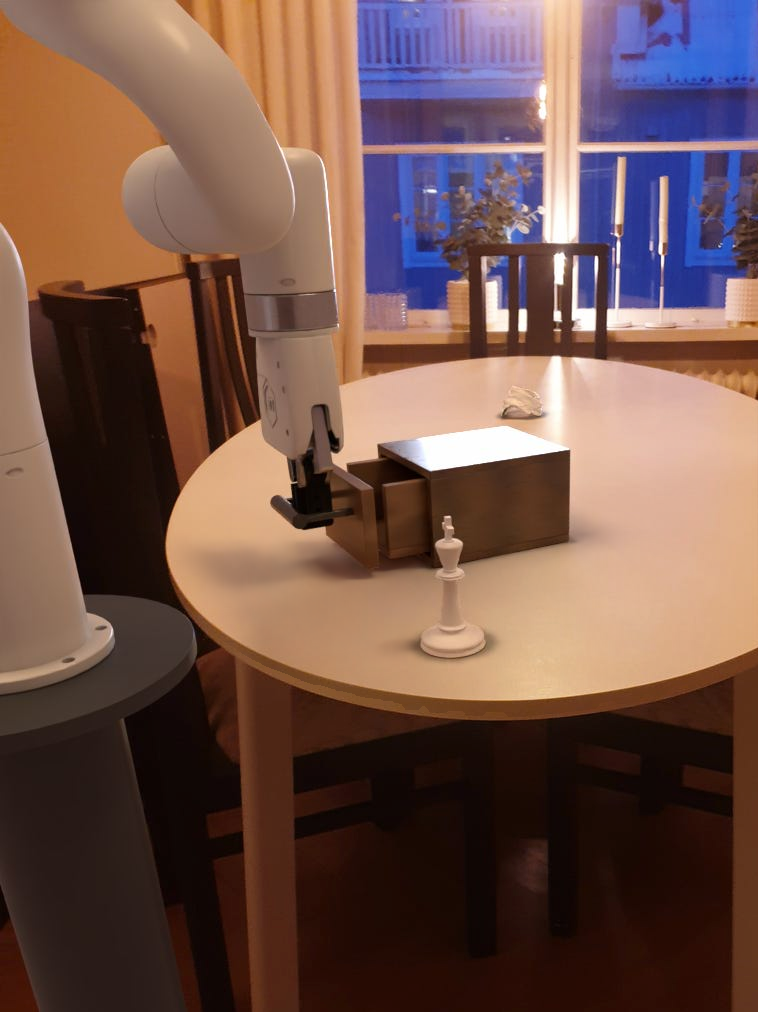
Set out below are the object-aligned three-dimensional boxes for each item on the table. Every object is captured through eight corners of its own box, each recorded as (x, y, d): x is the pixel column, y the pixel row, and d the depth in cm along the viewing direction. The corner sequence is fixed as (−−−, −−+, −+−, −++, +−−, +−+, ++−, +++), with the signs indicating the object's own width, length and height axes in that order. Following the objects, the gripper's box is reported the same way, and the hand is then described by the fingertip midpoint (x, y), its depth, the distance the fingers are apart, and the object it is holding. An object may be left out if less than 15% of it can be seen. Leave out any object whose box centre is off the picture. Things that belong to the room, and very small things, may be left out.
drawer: (305, 581, 81) (296, 500, 78) (269, 545, 90) (260, 471, 87) (500, 543, 89) (498, 468, 86) (448, 513, 98) (445, 444, 95)
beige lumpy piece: (504, 415, 152) (501, 385, 151) (545, 411, 151) (542, 380, 150) (499, 422, 145) (496, 390, 143) (542, 418, 144) (539, 385, 142)
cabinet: (434, 568, 86) (429, 471, 82) (383, 531, 96) (376, 443, 92) (569, 541, 92) (570, 449, 88) (507, 509, 102) (506, 425, 98)
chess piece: (474, 626, 73) (471, 504, 69) (493, 652, 69) (490, 522, 65) (414, 635, 72) (406, 511, 68) (429, 662, 68) (422, 531, 64)
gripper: (226, 311, 82) (253, 511, 90) (273, 326, 70) (299, 556, 78) (308, 305, 85) (327, 500, 93) (366, 319, 73) (383, 541, 81)
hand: (314, 525), depth 85 cm, fingers closed
